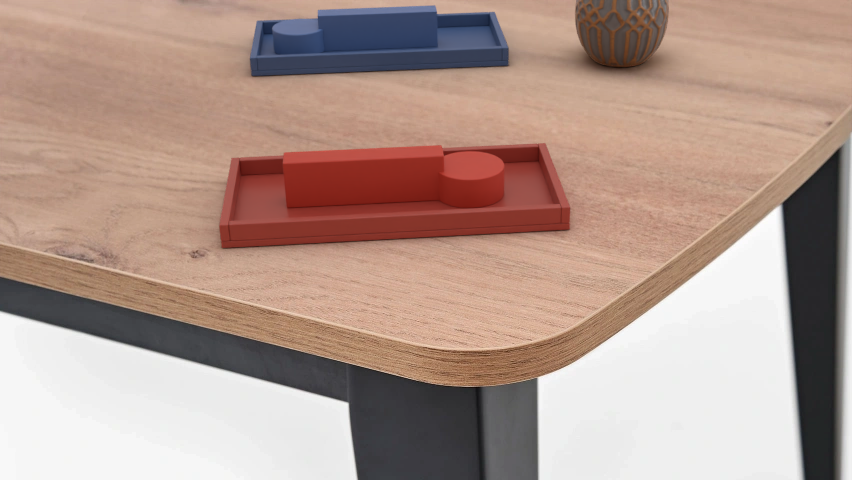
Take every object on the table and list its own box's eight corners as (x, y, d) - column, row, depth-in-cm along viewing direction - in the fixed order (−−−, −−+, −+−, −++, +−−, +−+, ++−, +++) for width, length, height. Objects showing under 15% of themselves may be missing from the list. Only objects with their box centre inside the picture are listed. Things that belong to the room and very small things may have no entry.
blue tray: (251, 76, 89) (249, 57, 88) (258, 37, 97) (256, 20, 96) (508, 65, 90) (508, 47, 90) (494, 28, 98) (494, 11, 98)
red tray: (221, 248, 65) (218, 225, 65) (233, 178, 73) (231, 157, 72) (569, 229, 67) (570, 206, 66) (545, 163, 75) (545, 142, 74)
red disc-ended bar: (285, 218, 68) (281, 172, 66) (288, 187, 71) (284, 143, 70) (508, 206, 69) (508, 161, 67) (499, 177, 72) (500, 133, 71)
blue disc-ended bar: (435, 35, 96) (434, 0, 94) (439, 52, 92) (438, 16, 91) (275, 41, 94) (271, 6, 93) (273, 58, 91) (269, 22, 90)
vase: (682, 67, 90) (691, -52, 86) (598, 79, 88) (604, -42, 83) (638, 39, 96) (644, -73, 91) (558, 50, 93) (561, -64, 89)
